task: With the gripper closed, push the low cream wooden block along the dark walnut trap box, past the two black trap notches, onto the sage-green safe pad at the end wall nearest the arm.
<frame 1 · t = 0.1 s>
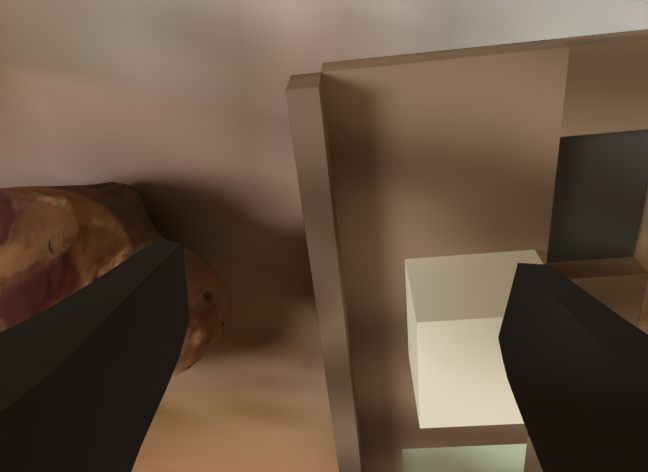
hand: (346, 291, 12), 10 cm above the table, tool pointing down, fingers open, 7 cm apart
decorative turtle: (91, 250, 24), on the table
cream block: (467, 306, 22), point 1 cm above the table, touching trap box
trap box: (471, 303, 24), on the table
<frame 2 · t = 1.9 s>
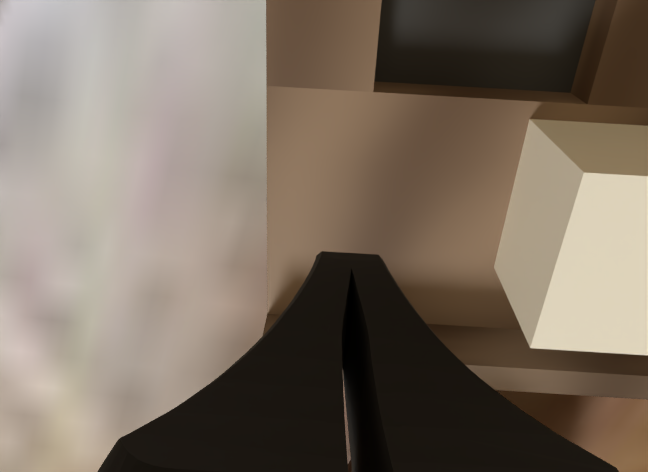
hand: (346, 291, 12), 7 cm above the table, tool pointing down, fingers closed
cream block: (591, 203, 16), point 1 cm above the table, touching trap box
trap box: (608, 171, 18), on the table
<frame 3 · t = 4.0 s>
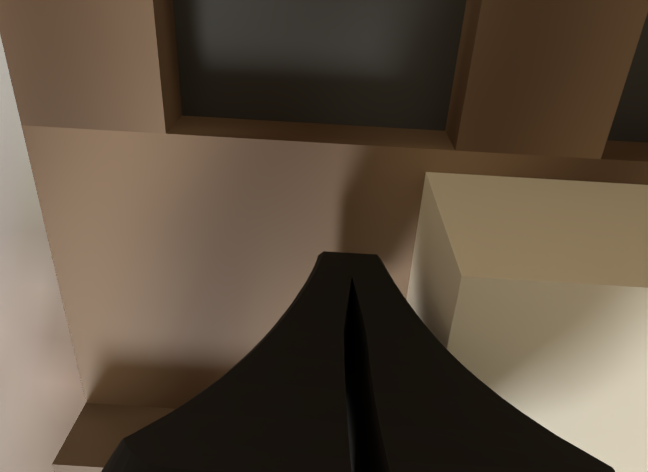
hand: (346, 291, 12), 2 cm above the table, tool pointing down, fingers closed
cream block: (517, 277, 13), point 2 cm above the table, touching gripper
trap box: (506, 228, 14), on the table
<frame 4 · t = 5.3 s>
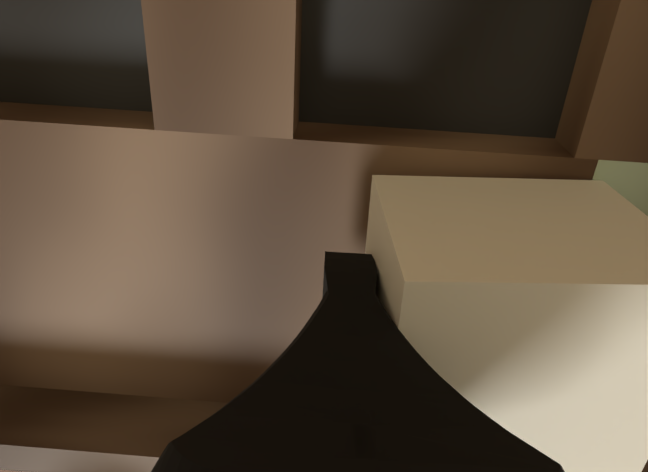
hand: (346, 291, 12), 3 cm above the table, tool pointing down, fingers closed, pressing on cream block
cream block: (468, 276, 13), point 2 cm above the table, tilted 5°, touching gripper, trap box
trap box: (258, 209, 14), on the table
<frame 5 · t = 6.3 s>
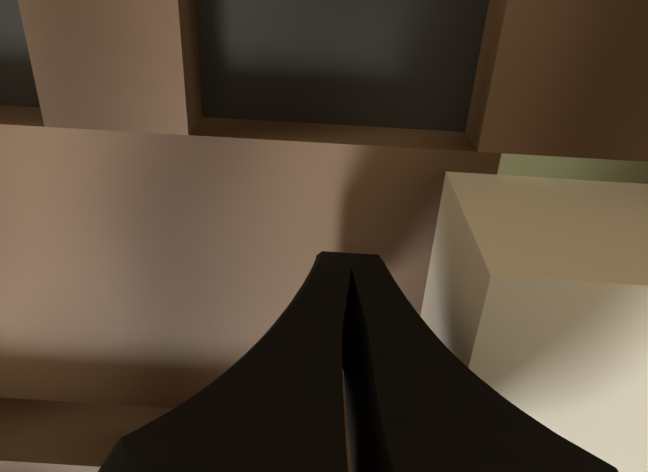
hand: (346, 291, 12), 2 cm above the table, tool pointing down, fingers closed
cream block: (535, 277, 13), point 2 cm above the table, touching trap box
trap box: (171, 208, 14), on the table
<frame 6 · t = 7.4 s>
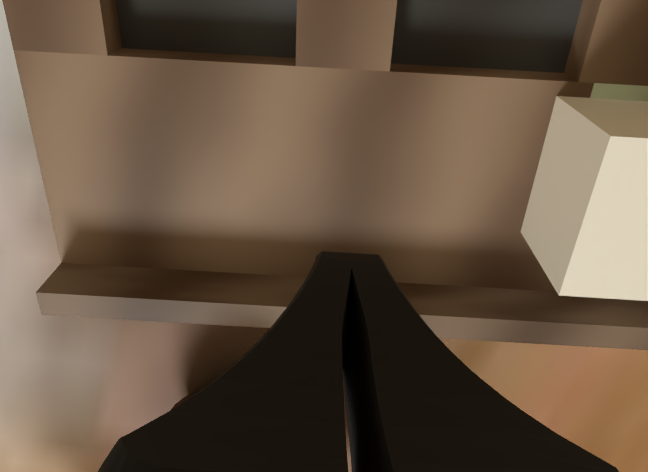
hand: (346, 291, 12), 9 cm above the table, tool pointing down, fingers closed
cream block: (609, 172, 18), point 2 cm above the table, touching trap box
trap box: (351, 130, 20), on the table
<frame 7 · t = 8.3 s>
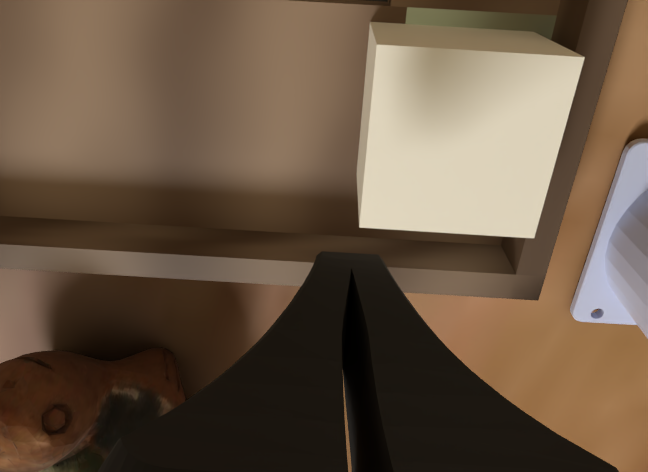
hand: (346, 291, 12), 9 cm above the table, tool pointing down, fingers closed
decorative turtle: (128, 397, 27), on the table
cream block: (438, 107, 18), point 2 cm above the table, touching trap box
trap box: (179, 67, 19), on the table
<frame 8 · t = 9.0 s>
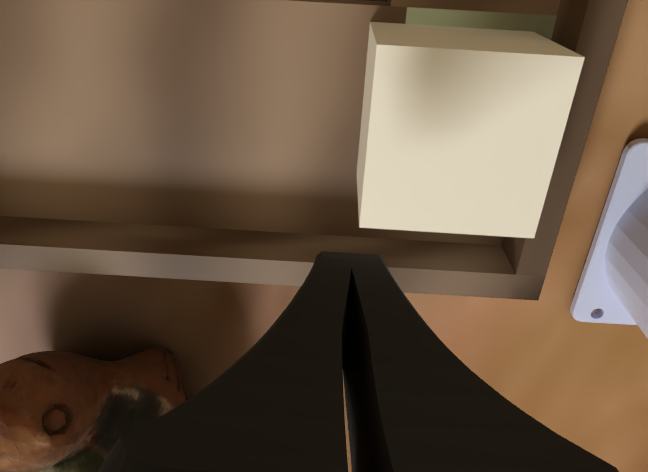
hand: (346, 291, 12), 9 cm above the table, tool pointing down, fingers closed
decorative turtle: (128, 397, 27), on the table
cream block: (438, 107, 18), point 2 cm above the table, touching trap box
trap box: (179, 67, 19), on the table
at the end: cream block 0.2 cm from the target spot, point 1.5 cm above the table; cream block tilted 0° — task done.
